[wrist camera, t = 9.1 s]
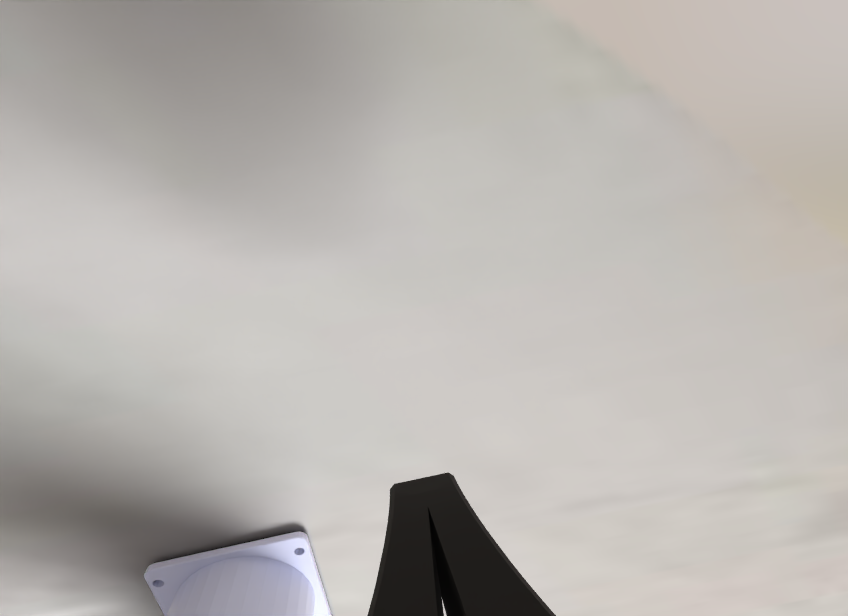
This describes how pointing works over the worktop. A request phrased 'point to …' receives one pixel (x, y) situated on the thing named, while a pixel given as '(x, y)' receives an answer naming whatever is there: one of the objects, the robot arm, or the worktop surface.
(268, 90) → the worktop surface
